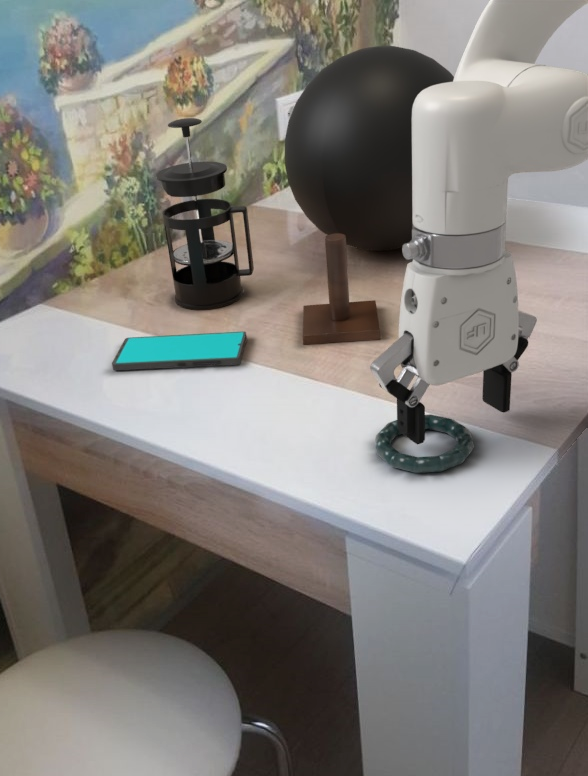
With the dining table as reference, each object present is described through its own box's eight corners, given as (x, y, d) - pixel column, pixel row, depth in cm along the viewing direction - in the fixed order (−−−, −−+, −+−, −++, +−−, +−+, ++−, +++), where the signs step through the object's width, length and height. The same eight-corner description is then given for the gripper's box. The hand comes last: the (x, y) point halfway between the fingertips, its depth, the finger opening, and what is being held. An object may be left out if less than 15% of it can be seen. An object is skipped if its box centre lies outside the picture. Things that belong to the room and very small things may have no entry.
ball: (475, 212, 138) (479, 24, 124) (479, 275, 116) (485, 55, 102) (306, 220, 144) (291, 40, 130) (279, 282, 121) (258, 73, 107)
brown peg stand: (375, 309, 110) (372, 221, 104) (380, 339, 103) (376, 246, 97) (304, 314, 111) (296, 227, 105) (303, 344, 103) (295, 253, 98)
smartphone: (125, 337, 108) (246, 331, 106) (126, 343, 108) (247, 337, 106) (110, 364, 102) (238, 358, 100) (112, 371, 102) (239, 365, 100)
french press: (163, 311, 116) (132, 131, 104) (177, 285, 124) (150, 115, 112) (251, 307, 115) (229, 124, 103) (259, 281, 122) (241, 107, 110)
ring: (465, 422, 85) (465, 409, 84) (479, 472, 77) (479, 459, 77) (373, 427, 86) (372, 415, 85) (379, 478, 78) (378, 464, 77)
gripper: (397, 280, 67) (400, 469, 76) (570, 230, 73) (554, 410, 82) (345, 255, 73) (354, 433, 82) (509, 211, 79) (501, 381, 88)
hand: (454, 421), depth 82 cm, fingers open, 9 cm apart
